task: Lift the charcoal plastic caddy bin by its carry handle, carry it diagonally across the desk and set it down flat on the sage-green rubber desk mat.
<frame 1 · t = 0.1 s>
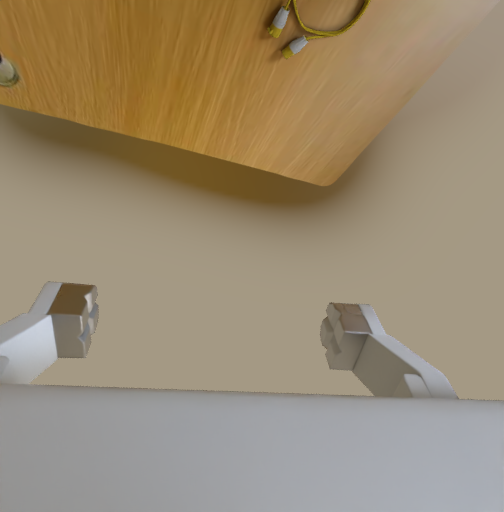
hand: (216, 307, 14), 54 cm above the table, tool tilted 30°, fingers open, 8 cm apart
extension cord: (317, 1, 57), on the table
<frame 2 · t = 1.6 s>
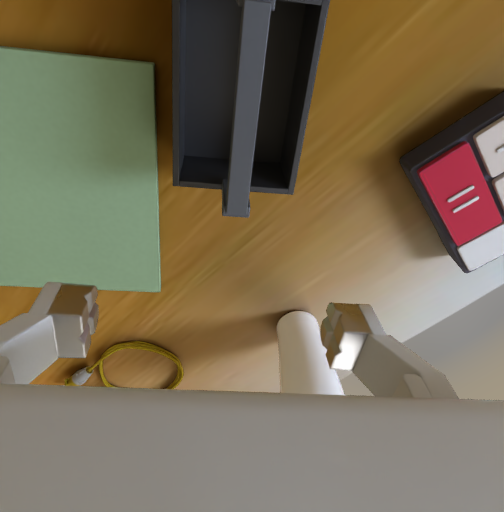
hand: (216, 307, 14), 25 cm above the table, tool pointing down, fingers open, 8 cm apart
caddy bin: (239, 84, 33), on the table
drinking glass: (296, 322, 51), on the table
desk mat: (63, 188, 38), on the table
extension cord: (126, 369, 54), on the table
calculator: (474, 181, 41), on the table
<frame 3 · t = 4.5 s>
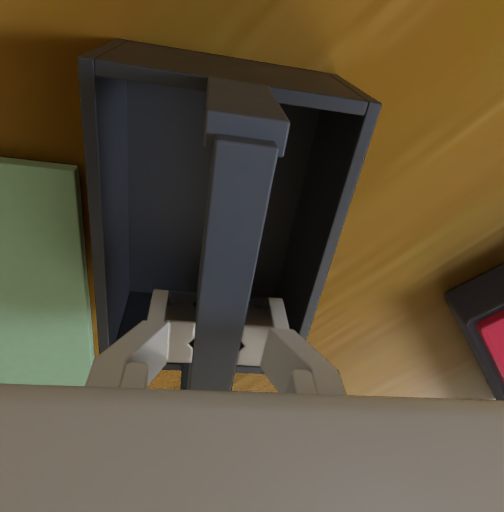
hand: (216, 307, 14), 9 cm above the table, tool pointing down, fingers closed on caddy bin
caddy bin: (215, 198, 21), on the table, touching gripper
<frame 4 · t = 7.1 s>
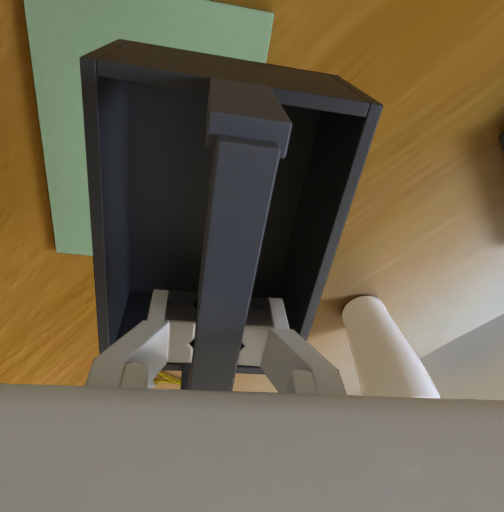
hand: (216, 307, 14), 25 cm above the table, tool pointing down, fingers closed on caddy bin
caddy bin: (216, 198, 21), point 16 cm above the table, touching gripper
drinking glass: (361, 308, 49), on the table
desk mat: (150, 147, 36), on the table
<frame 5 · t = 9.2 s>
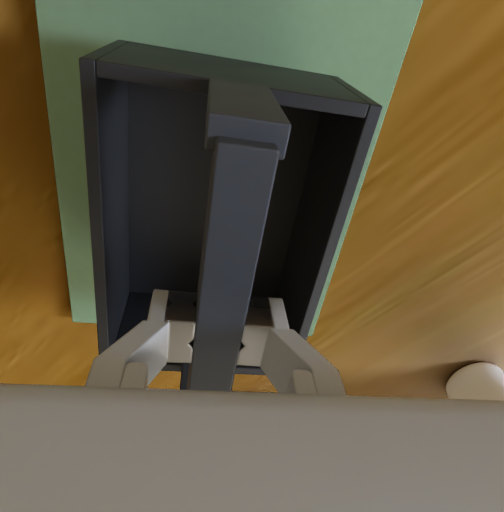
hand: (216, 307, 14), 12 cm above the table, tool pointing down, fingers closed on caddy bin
caddy bin: (215, 199, 21), point 3 cm above the table, touching gripper
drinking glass: (470, 376, 37), on the table
desk mat: (214, 176, 24), on the table
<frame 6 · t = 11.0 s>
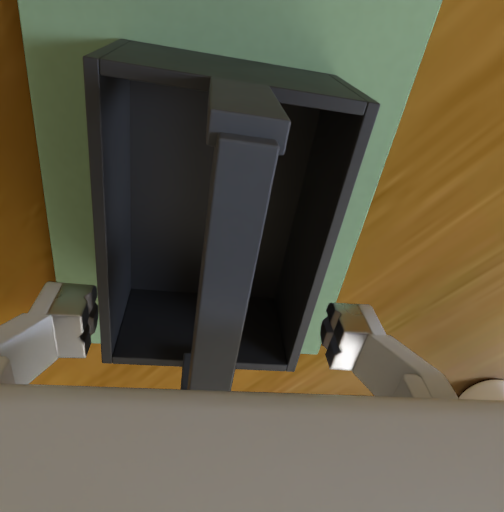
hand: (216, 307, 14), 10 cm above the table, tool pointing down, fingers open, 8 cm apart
caddy bin: (216, 196, 22), point 1 cm above the table, touching desk mat
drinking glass: (481, 393, 36), on the table
desk mat: (214, 189, 22), on the table
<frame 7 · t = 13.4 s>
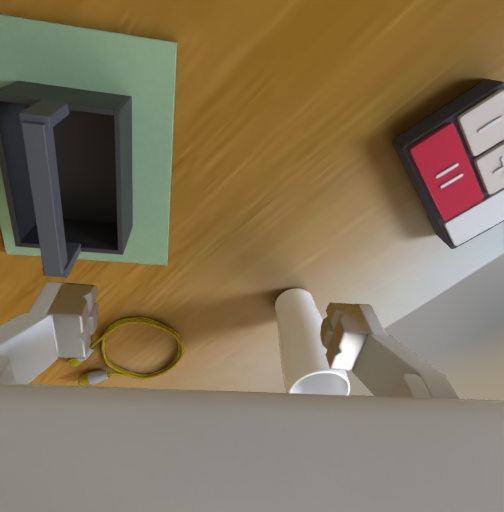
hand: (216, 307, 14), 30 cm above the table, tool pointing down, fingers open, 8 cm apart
caddy bin: (81, 161, 40), point 1 cm above the table, touching desk mat
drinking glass: (293, 301, 54), on the table
desk mat: (83, 158, 41), on the table
extension cord: (127, 347, 55), on the table
calculator: (458, 164, 45), on the table
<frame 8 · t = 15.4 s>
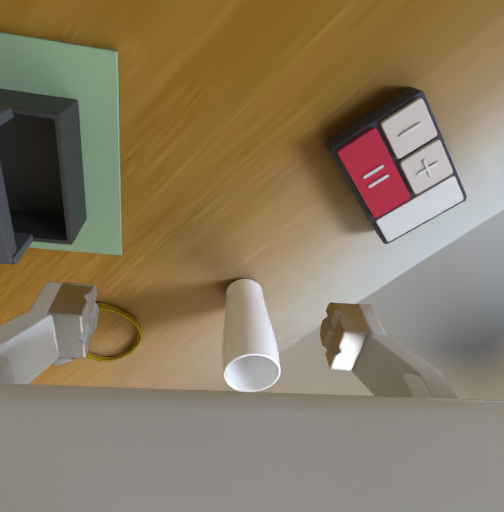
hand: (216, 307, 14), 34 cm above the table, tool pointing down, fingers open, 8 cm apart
caddy bin: (35, 158, 43), point 1 cm above the table, touching desk mat
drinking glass: (243, 290, 57), on the table
desk mat: (37, 155, 44), on the table
extension cord: (90, 331, 59), on the table
calculator: (390, 165, 48), on the table
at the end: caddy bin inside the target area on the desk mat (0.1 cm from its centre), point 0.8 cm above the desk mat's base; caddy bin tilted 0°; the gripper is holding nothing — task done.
